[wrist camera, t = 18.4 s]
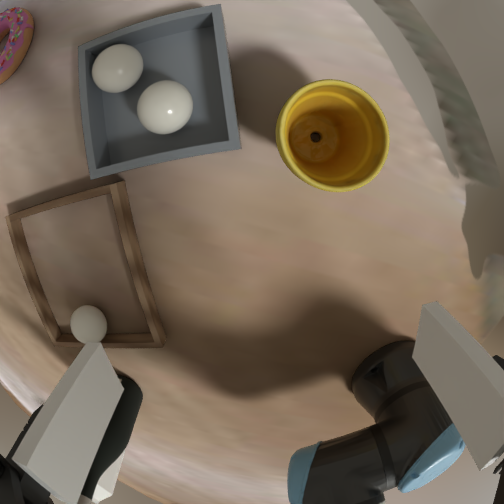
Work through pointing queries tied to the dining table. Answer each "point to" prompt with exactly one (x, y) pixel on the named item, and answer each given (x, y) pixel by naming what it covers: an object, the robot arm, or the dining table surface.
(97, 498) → the milk carton
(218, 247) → the dining table surface
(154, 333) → the tray
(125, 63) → the pebble
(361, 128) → the plant pot
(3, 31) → the donut
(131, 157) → the grey shallow box
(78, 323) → the pebble
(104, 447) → the wine bottle
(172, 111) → the off-white glossy ball
